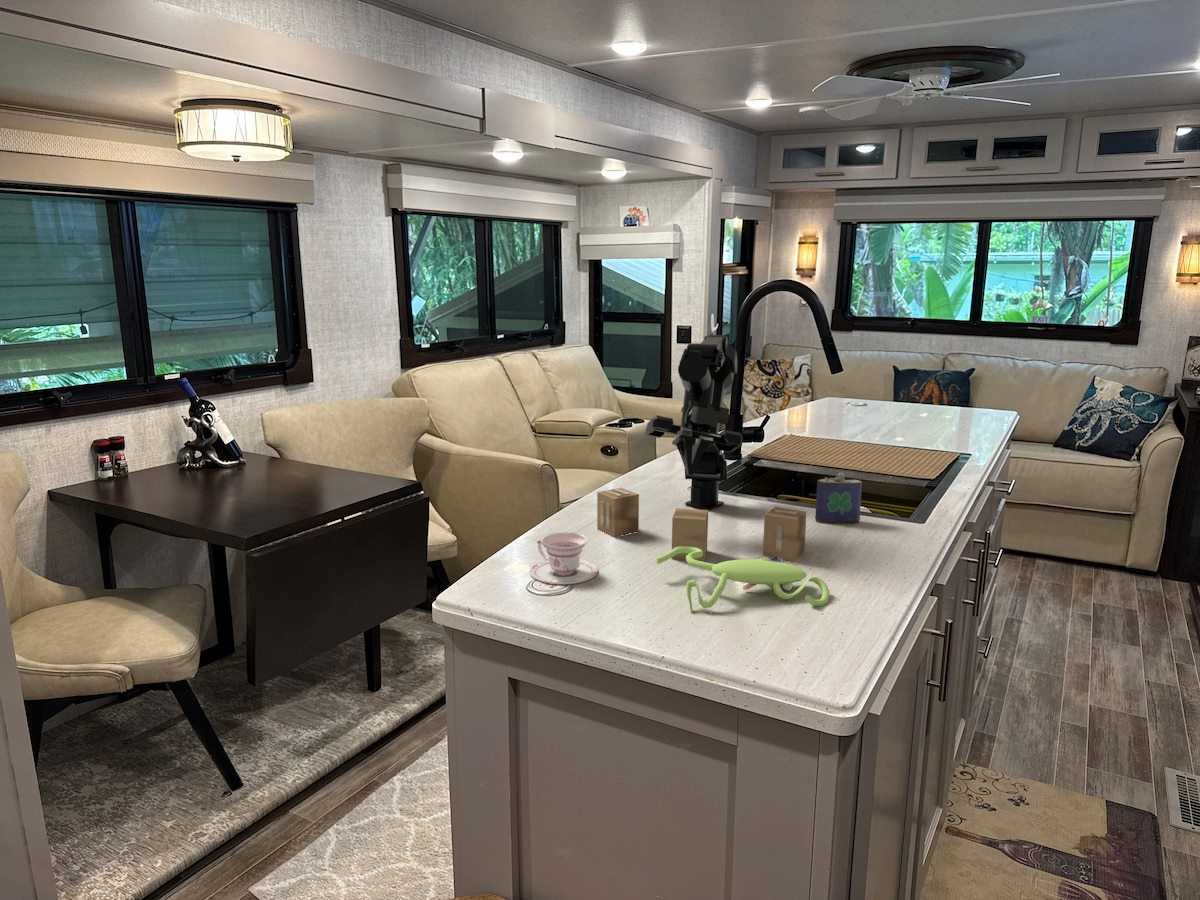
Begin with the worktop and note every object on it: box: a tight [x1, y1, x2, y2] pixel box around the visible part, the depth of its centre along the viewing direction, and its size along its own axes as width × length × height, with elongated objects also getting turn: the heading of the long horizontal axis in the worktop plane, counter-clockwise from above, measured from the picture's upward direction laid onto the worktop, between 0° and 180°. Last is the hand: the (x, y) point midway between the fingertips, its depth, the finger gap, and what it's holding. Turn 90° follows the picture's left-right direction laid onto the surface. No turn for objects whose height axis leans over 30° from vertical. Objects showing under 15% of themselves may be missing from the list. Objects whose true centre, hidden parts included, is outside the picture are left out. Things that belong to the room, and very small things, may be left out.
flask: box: [814, 472, 863, 525], centre depth 171 cm, size 9×3×11 cm, turn 88°
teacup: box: [529, 532, 599, 586], centre depth 143 cm, size 12×12×6 cm
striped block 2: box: [762, 506, 807, 562], centre depth 152 cm, size 6×6×8 cm
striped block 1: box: [596, 487, 640, 538], centre depth 165 cm, size 6×6×8 cm
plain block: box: [670, 507, 709, 562], centre depth 151 cm, size 6×6×8 cm
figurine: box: [655, 546, 830, 614], centre depth 136 cm, size 18×27×6 cm
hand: (689, 475), depth 161 cm, fingers closed
